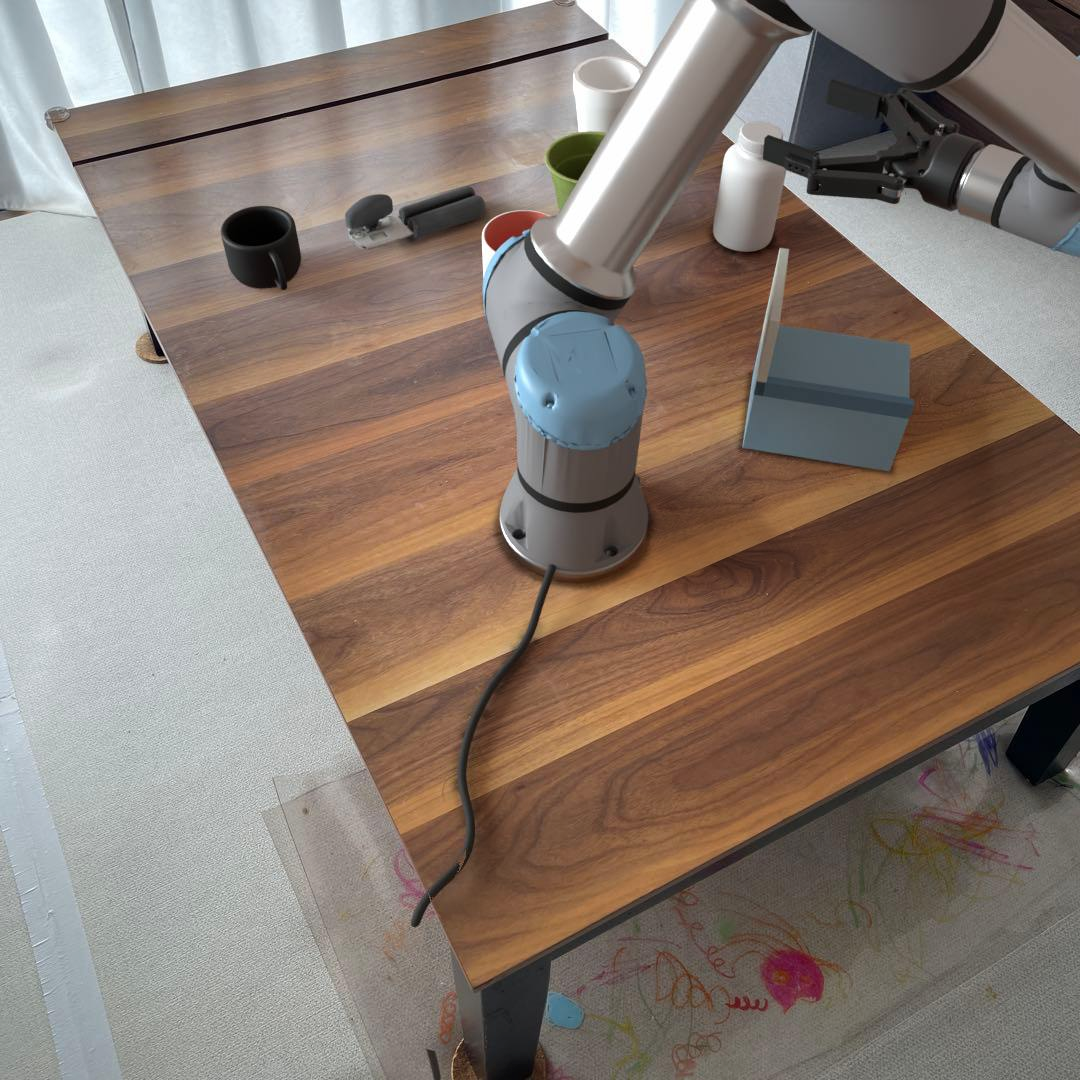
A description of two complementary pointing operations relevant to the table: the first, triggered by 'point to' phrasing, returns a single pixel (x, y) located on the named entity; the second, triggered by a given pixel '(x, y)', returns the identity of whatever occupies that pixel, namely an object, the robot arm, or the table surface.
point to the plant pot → (570, 160)
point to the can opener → (410, 217)
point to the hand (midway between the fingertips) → (797, 118)
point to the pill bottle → (748, 191)
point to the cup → (506, 230)
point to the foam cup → (602, 90)
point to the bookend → (826, 392)
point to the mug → (262, 246)
